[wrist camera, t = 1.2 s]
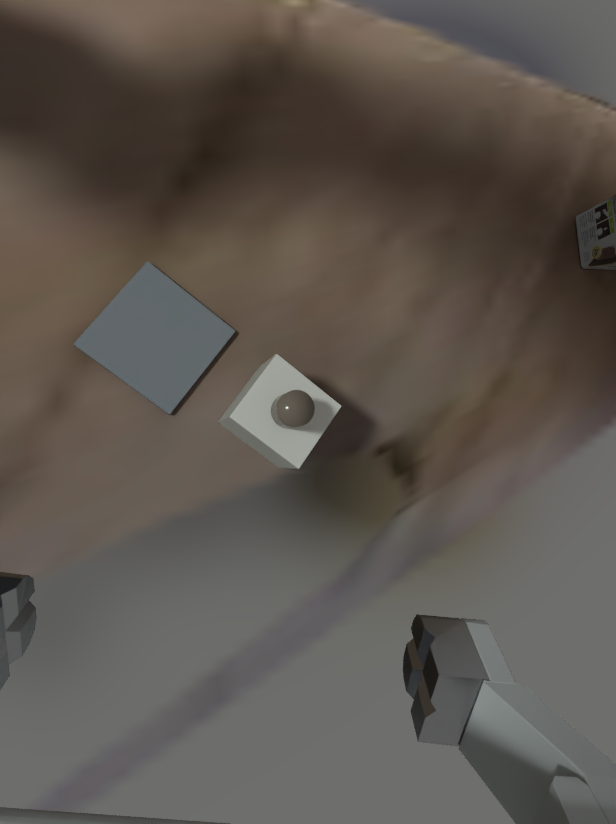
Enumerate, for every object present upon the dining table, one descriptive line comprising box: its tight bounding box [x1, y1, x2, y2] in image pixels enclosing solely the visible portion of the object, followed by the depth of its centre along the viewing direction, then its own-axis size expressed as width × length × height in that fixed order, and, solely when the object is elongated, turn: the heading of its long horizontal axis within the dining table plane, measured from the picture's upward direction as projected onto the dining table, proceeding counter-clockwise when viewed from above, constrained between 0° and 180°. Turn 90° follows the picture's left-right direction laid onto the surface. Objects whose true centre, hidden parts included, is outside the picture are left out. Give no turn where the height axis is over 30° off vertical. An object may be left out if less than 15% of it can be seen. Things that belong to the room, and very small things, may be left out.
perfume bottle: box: [218, 354, 341, 469], centre depth 39 cm, size 6×6×8 cm
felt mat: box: [73, 261, 235, 415], centre depth 41 cm, size 9×9×1 cm
